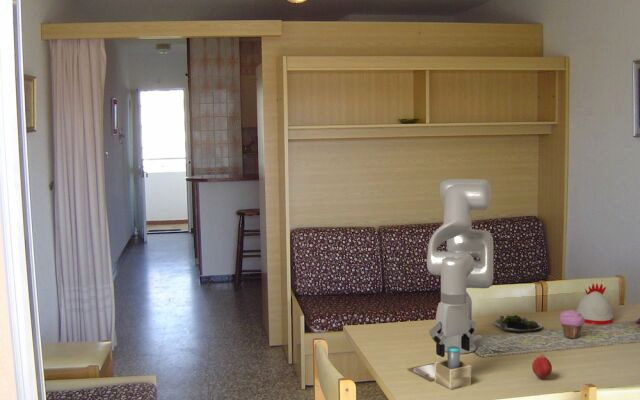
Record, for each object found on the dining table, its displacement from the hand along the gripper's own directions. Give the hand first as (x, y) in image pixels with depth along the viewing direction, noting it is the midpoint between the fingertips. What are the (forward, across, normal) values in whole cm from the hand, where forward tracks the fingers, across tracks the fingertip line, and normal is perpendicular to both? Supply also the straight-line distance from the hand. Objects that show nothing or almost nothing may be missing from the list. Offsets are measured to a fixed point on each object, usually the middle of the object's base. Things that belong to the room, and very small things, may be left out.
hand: (453, 352), depth 203 cm
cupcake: (+11, -67, -13) cm, 70 cm away
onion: (+10, -25, +12) cm, 30 cm away
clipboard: (+10, -2, -10) cm, 14 cm away
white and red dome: (+12, -93, -24) cm, 97 cm away
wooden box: (+9, +1, +1) cm, 9 cm away
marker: (+9, 0, +1) cm, 9 cm away
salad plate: (+12, -59, -32) cm, 69 cm away
